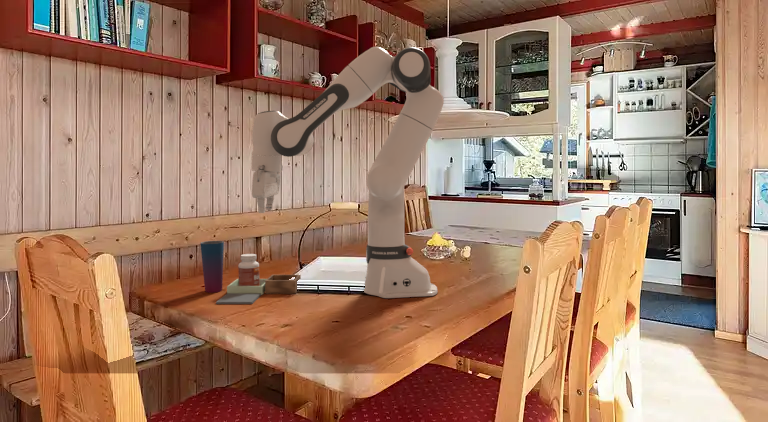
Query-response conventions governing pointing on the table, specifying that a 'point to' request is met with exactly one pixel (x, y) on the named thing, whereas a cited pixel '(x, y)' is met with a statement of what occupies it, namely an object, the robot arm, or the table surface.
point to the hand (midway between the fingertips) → (265, 211)
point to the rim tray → (246, 287)
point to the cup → (212, 265)
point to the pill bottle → (249, 271)
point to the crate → (281, 284)
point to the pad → (239, 298)
